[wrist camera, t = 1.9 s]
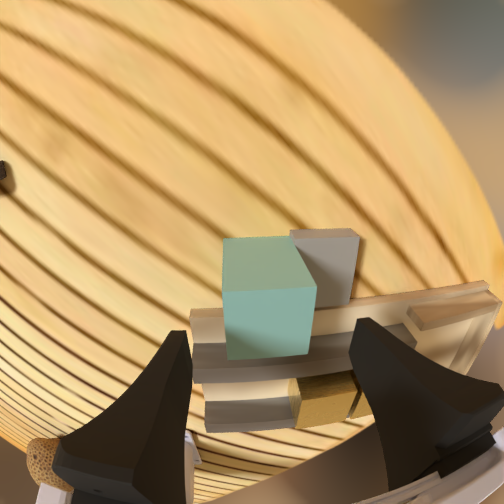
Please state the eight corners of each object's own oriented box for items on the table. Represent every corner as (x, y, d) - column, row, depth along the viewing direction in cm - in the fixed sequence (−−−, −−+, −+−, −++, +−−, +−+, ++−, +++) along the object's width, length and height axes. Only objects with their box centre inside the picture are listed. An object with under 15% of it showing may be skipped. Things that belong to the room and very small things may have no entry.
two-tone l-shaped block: (341, 292, 19) (375, 348, 14) (227, 300, 19) (228, 365, 13) (350, 228, 17) (397, 272, 12) (223, 232, 17) (221, 283, 11)
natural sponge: (25, 417, 25) (5, 466, 16) (64, 425, 26) (46, 484, 16) (58, 448, 29) (44, 494, 20) (98, 456, 29) (87, 508, 20)
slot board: (441, 373, 26) (455, 393, 23) (210, 414, 24) (210, 443, 21) (483, 280, 21) (504, 298, 18) (190, 309, 19) (185, 343, 16)
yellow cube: (376, 376, 23) (393, 408, 19) (337, 384, 22) (350, 419, 19) (388, 345, 21) (409, 378, 17) (346, 352, 21) (363, 389, 17)
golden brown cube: (332, 385, 22) (344, 420, 19) (287, 391, 22) (295, 429, 18) (340, 353, 21) (357, 391, 17) (291, 359, 20) (301, 400, 17)
